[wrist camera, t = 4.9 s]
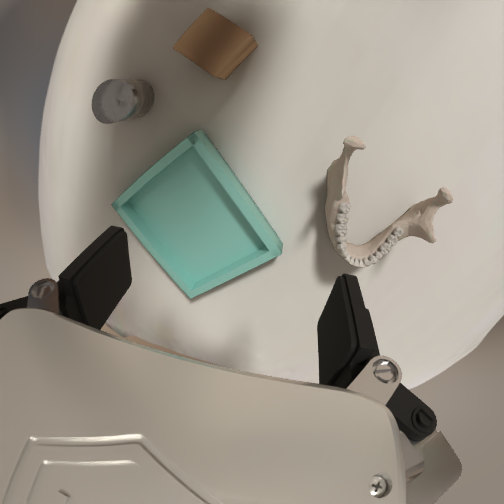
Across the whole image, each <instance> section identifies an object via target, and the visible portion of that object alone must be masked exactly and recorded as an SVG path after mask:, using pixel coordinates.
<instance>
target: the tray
mask: <svg viewBox="0 0 504 504" xmlns="http://www.w3.org/2000/svg"><path fill="white" fill-rule="evenodd" d="M111 205H112V206H113V208H114V209H115V210H116V211H117V213H118V214H119V215H120V217H121V218H122V219H123V220H124V222H125V223H126V224H127V225H128V227H129V228H130V229H131V230H132V232H133V233H134V234H135V235H136V237H137V238H138V239H139V240H140V241H141V243H142V244H143V245H144V246H145V248H146V249H147V250H148V251H149V252H150V253H151V255H152V256H153V257H154V258H155V259H156V261H157V262H158V263H159V264H160V265H161V266H162V268H163V269H164V270H165V271H166V272H167V273H168V274H169V276H170V277H171V278H172V279H173V280H174V281H175V282H176V283H177V285H178V286H179V287H180V288H181V289H182V290H183V291H184V292H185V293H186V294H187V296H188V297H189V298H190V299H191V298H193V297H195V296H197V295H199V294H201V293H204V292H206V291H208V290H210V289H212V288H214V287H216V286H218V285H220V284H222V283H224V282H226V281H228V280H230V279H232V278H234V277H236V276H238V275H240V274H243V273H245V272H247V271H249V270H251V269H253V268H255V267H257V266H259V265H261V264H263V263H265V262H267V261H269V260H271V259H273V258H275V257H277V256H279V255H281V254H282V247H283V243H282V242H281V240H280V239H279V237H278V236H277V234H276V233H275V231H274V230H273V228H272V227H271V226H270V224H269V223H268V221H267V220H266V218H265V217H264V215H263V214H262V212H261V211H260V210H259V208H258V207H257V205H256V204H255V202H254V201H253V200H252V198H251V197H250V195H249V194H248V192H247V191H246V190H245V188H244V187H243V185H242V184H241V183H240V181H239V180H238V178H237V177H236V176H235V174H234V173H233V171H232V170H231V169H230V167H229V166H228V164H227V163H226V162H225V160H224V159H223V158H222V156H221V155H220V153H219V152H218V151H217V149H216V148H215V147H214V145H213V144H212V142H211V141H210V140H209V138H208V137H207V136H206V134H205V133H204V132H203V130H202V129H201V130H198V131H196V132H194V133H192V134H191V135H190V136H189V137H187V138H186V139H185V140H183V141H182V142H181V143H180V144H178V145H177V146H176V147H175V148H173V149H172V150H171V151H170V152H169V153H167V154H166V155H165V156H164V157H163V158H161V159H160V160H159V161H158V162H157V163H156V164H154V165H153V166H152V167H151V168H150V169H149V170H148V171H146V172H145V173H144V174H143V175H142V176H141V177H140V178H139V179H138V180H137V181H135V182H134V183H133V184H132V185H131V186H130V187H129V188H128V189H127V190H126V191H125V192H124V193H123V194H122V195H121V196H120V197H119V198H118V199H117V200H116V201H115V202H113V203H112V204H111Z"/></svg>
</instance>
